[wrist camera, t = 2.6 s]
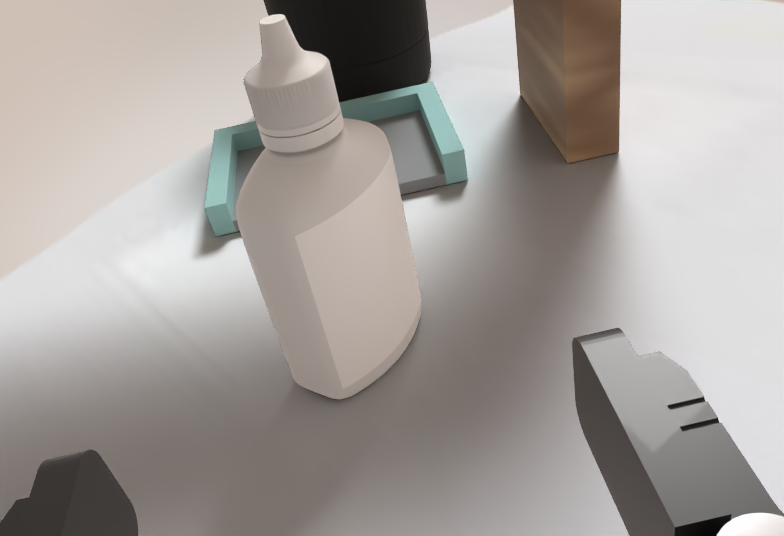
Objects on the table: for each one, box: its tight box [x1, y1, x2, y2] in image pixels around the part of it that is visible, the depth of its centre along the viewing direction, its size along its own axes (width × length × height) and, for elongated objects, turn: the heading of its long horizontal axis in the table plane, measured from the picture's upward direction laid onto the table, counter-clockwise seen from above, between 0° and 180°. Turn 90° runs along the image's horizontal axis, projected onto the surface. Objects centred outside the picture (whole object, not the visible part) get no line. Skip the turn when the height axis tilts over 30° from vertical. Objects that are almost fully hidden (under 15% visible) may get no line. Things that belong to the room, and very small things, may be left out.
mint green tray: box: [204, 82, 468, 236], centre depth 37 cm, size 12×8×2 cm, turn 98°
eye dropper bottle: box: [236, 14, 422, 399], centre depth 23 cm, size 4×6×12 cm
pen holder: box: [264, 0, 431, 102], centre depth 42 cm, size 9×9×10 cm
